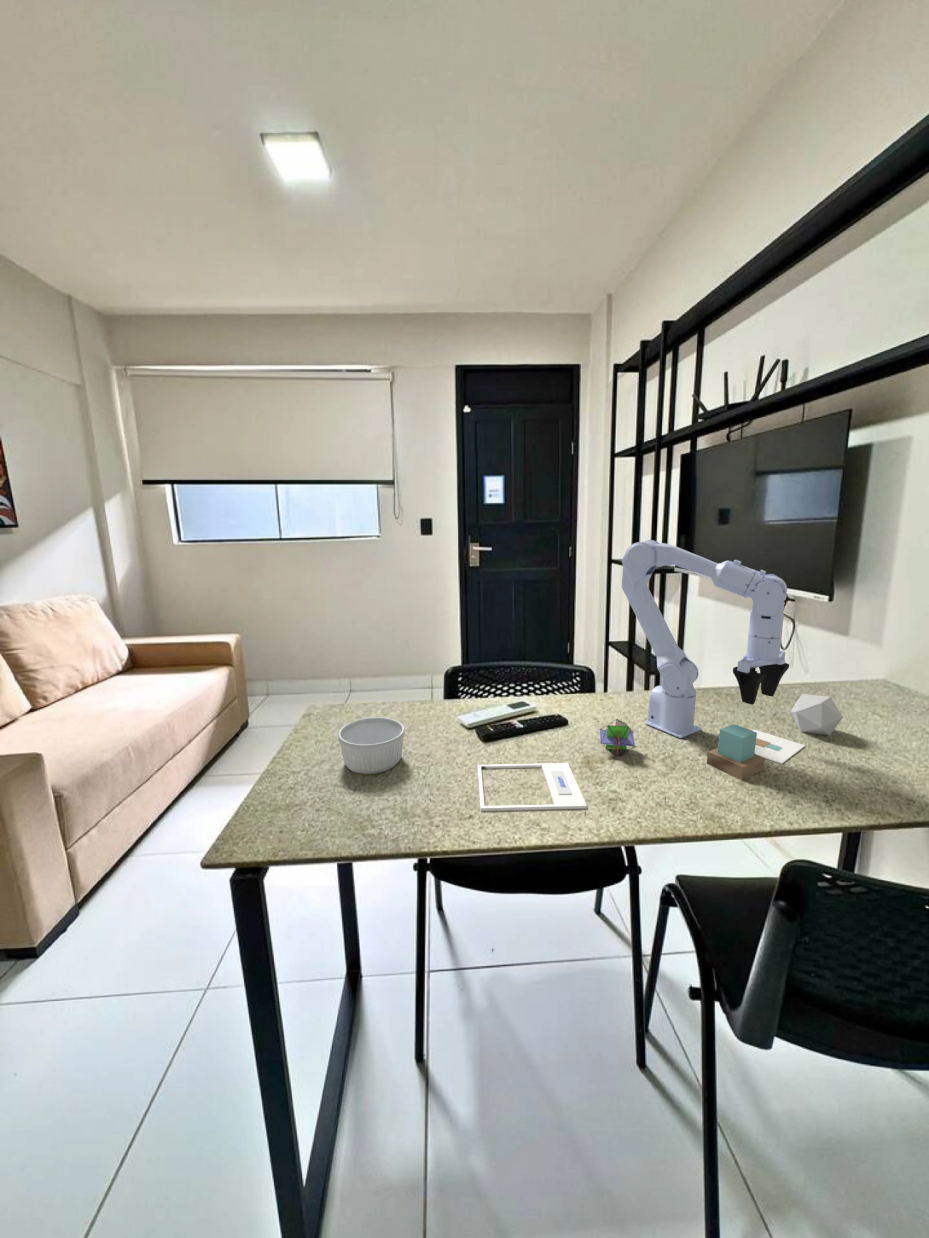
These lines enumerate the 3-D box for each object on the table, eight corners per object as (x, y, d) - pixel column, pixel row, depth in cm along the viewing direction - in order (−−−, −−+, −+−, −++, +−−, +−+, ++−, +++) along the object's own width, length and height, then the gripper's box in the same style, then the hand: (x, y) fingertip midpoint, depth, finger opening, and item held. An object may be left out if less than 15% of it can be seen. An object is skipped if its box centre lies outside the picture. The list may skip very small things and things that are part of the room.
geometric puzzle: (637, 755, 94) (636, 715, 98) (601, 752, 96) (601, 713, 99) (632, 761, 101) (631, 723, 104) (598, 758, 102) (598, 721, 106)
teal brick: (717, 752, 94) (719, 729, 93) (731, 747, 96) (734, 724, 95) (740, 762, 90) (742, 738, 89) (754, 756, 92) (756, 732, 91)
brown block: (706, 765, 95) (707, 751, 95) (728, 756, 98) (729, 743, 98) (741, 782, 89) (742, 767, 89) (763, 772, 92) (764, 757, 92)
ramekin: (415, 750, 103) (414, 720, 102) (389, 782, 91) (387, 748, 89) (359, 743, 107) (357, 714, 105) (327, 773, 94) (324, 740, 93)
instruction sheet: (728, 745, 102) (729, 744, 102) (754, 730, 109) (754, 729, 109) (781, 764, 94) (781, 762, 94) (805, 746, 101) (805, 744, 101)
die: (834, 729, 110) (807, 689, 113) (860, 726, 102) (831, 683, 105) (800, 744, 110) (775, 703, 113) (824, 742, 101) (796, 698, 105)
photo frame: (587, 804, 81) (480, 807, 81) (586, 810, 81) (480, 813, 81) (567, 761, 96) (477, 763, 95) (567, 767, 96) (477, 769, 96)
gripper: (766, 645, 90) (759, 713, 93) (804, 634, 98) (796, 697, 101) (729, 637, 96) (723, 701, 99) (767, 627, 104) (761, 687, 106)
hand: (757, 698), depth 100 cm, fingers open, 7 cm apart
